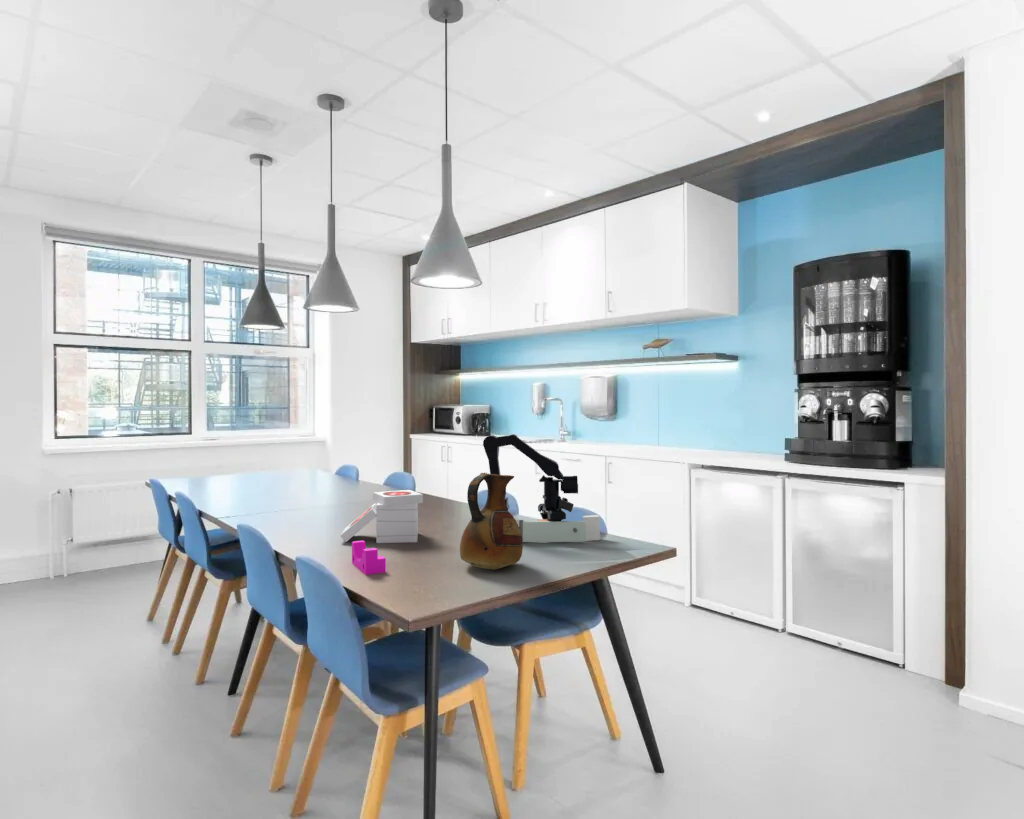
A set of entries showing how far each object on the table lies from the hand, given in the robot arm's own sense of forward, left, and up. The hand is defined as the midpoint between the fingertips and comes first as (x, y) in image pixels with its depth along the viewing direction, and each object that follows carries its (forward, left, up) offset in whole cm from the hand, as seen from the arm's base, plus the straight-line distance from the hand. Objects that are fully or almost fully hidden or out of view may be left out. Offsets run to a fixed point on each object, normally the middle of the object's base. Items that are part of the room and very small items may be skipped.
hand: (551, 533), depth 238 cm
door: (-13, -5, -2) cm, 14 cm away
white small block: (-13, -5, -2) cm, 14 cm away
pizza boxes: (-64, +10, -2) cm, 64 cm away
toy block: (-68, -30, -2) cm, 75 cm away
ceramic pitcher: (-30, -36, -2) cm, 47 cm away
